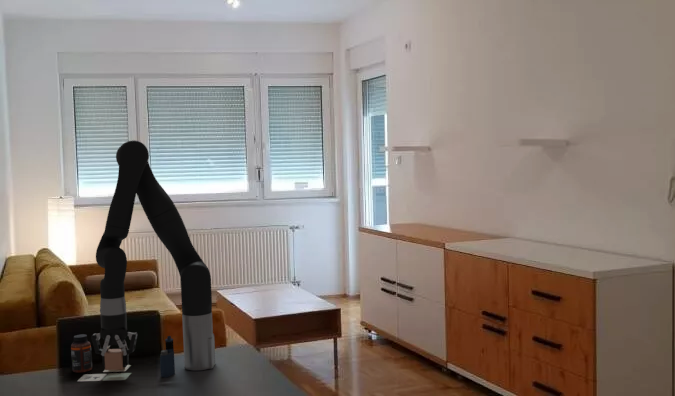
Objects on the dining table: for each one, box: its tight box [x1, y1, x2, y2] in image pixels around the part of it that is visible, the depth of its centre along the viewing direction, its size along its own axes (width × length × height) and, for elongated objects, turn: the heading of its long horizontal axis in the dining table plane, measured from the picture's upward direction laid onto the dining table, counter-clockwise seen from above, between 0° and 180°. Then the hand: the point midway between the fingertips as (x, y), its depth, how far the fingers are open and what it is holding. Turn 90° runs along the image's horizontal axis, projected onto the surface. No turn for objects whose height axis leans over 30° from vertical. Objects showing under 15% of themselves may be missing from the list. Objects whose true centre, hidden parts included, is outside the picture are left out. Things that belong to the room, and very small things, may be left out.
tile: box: [102, 364, 132, 373], centre depth 241 cm, size 7×7×1 cm
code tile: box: [77, 373, 107, 382], centre depth 232 cm, size 7×7×1 cm
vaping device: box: [159, 335, 176, 378], centre depth 232 cm, size 3×5×12 cm, turn 155°
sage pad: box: [101, 372, 132, 382], centre depth 232 cm, size 7×7×1 cm
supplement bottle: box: [70, 333, 93, 373], centre depth 240 cm, size 6×6×11 cm
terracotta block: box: [104, 348, 124, 370], centre depth 232 cm, size 5×5×5 cm
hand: (115, 366), depth 232 cm, fingers closed on terracotta block, 5 cm apart
